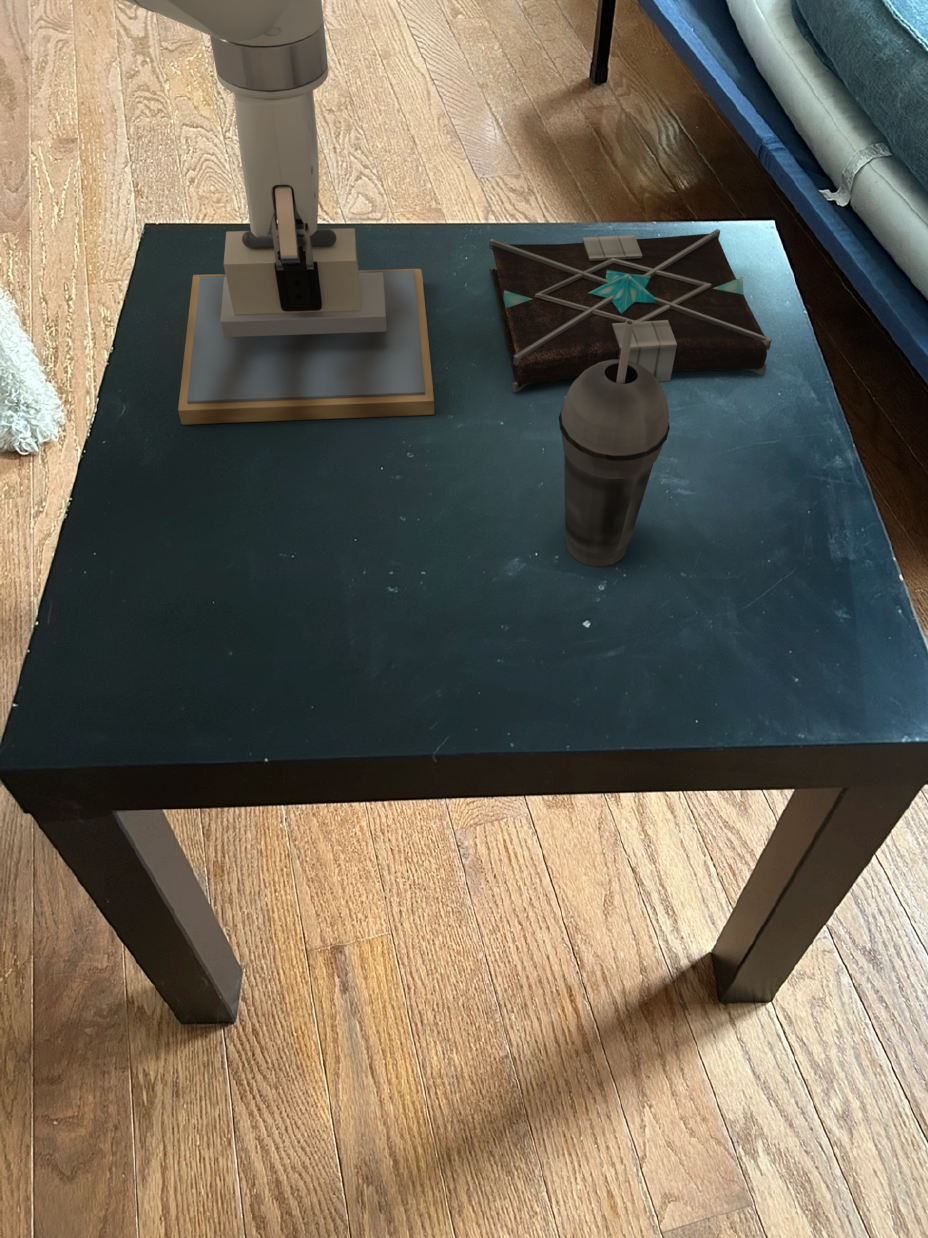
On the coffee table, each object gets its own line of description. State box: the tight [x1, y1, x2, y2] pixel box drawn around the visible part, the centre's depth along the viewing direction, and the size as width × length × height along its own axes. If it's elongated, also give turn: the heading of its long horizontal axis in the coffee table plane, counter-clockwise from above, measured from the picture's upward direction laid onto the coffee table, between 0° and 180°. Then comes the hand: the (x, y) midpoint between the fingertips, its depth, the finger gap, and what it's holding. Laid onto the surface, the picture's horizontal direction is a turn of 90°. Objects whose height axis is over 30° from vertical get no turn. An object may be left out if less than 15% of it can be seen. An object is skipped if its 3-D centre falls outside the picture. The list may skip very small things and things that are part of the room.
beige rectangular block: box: [220, 227, 387, 337], centre depth 88 cm, size 13×6×7 cm, turn 96°
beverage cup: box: [558, 320, 671, 568], centre depth 73 cm, size 7×7×20 cm
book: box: [488, 228, 773, 394], centre depth 95 cm, size 22×17×5 cm
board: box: [177, 268, 436, 426], centre depth 93 cm, size 20×18×2 cm
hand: (302, 287), depth 89 cm, fingers closed on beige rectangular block, 4 cm apart
